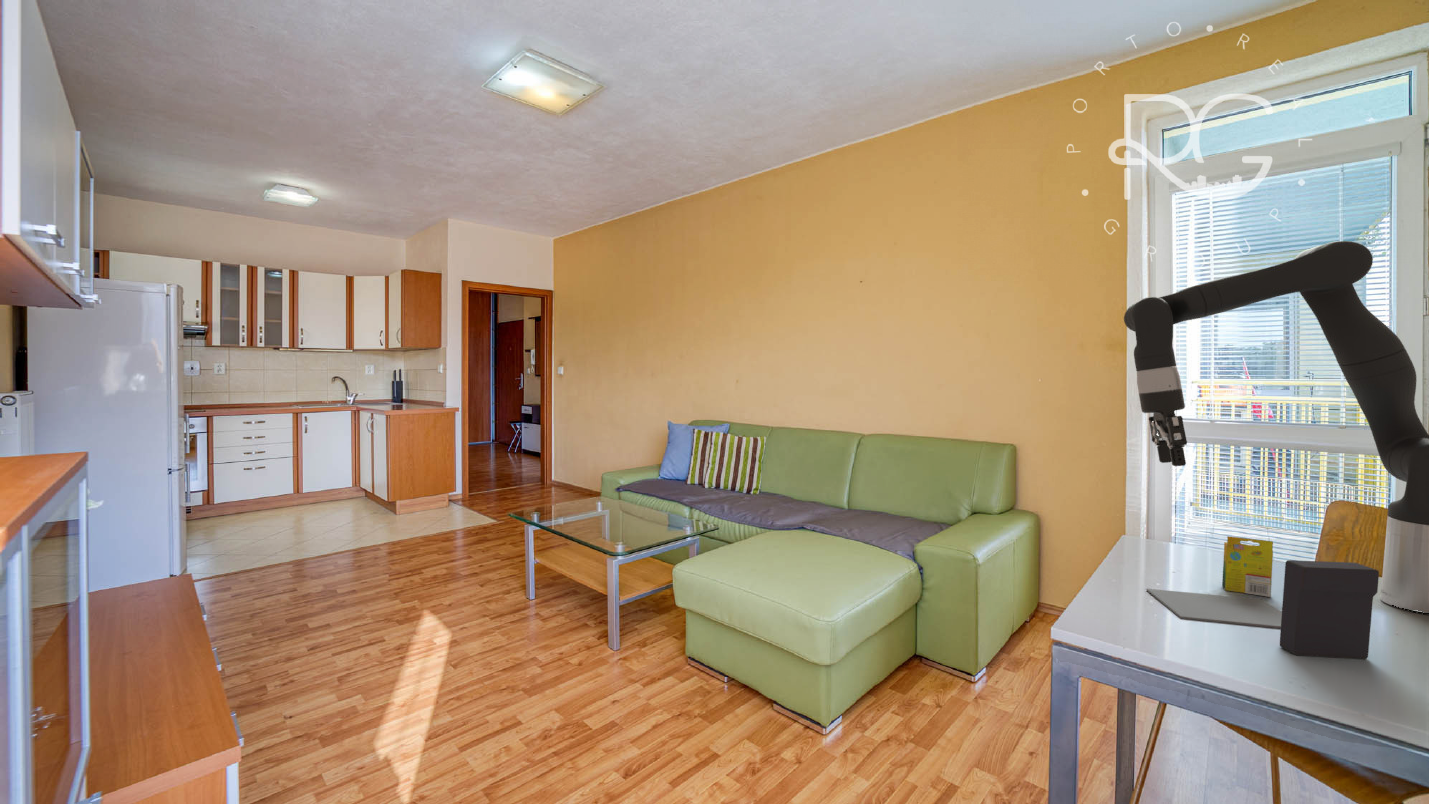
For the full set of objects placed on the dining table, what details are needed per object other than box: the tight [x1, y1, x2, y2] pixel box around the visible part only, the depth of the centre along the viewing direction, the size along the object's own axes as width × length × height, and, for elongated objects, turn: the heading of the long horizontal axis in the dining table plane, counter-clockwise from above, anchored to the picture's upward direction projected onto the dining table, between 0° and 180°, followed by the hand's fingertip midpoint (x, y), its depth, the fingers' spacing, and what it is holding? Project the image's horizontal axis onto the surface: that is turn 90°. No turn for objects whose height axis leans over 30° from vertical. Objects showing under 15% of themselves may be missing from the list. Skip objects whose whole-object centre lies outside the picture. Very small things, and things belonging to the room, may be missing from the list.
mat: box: [1145, 588, 1282, 630], centre depth 113 cm, size 20×14×1 cm
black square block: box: [1279, 559, 1380, 660], centre depth 96 cm, size 11×4×15 cm, turn 84°
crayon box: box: [1221, 535, 1274, 598], centre depth 122 cm, size 7×3×12 cm, turn 58°
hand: (1172, 464), depth 126 cm, fingers open, 8 cm apart
